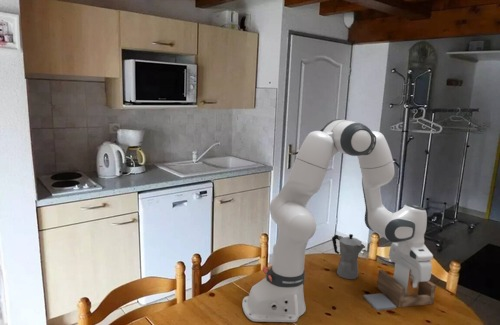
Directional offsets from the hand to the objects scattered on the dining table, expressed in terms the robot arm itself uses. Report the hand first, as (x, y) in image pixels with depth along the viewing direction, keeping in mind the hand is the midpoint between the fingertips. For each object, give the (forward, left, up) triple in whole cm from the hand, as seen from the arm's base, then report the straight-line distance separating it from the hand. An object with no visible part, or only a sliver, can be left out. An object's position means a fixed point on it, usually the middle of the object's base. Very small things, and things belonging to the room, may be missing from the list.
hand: (406, 280), depth 138 cm
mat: (-13, -3, -6) cm, 14 cm away
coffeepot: (-15, +20, -6) cm, 26 cm away
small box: (0, 0, -6) cm, 6 cm away
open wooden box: (0, 0, -6) cm, 6 cm away
